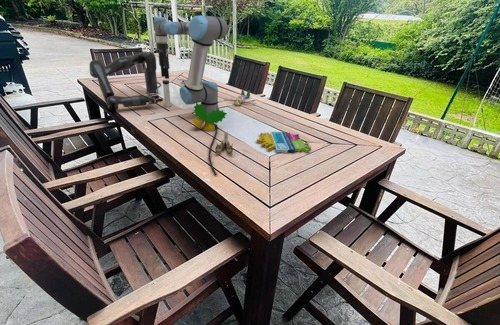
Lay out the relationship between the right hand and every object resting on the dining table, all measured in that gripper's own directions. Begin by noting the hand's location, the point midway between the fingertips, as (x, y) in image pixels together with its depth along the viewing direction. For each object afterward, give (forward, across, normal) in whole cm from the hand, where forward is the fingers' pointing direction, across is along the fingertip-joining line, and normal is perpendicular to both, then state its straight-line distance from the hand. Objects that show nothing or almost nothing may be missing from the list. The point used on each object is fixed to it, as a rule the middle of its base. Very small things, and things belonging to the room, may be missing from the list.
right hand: (165, 77), depth 189 cm
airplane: (+21, +51, -43) cm, 70 cm away
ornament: (+21, -55, -7) cm, 59 cm away
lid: (+3, 0, 0) cm, 3 cm away
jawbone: (+21, -87, +1) cm, 89 cm away
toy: (+21, -14, -59) cm, 64 cm away
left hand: (+15, 0, +5) cm, 16 cm away
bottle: (+21, 0, 0) cm, 21 cm away
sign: (+21, -93, -34) cm, 102 cm away
